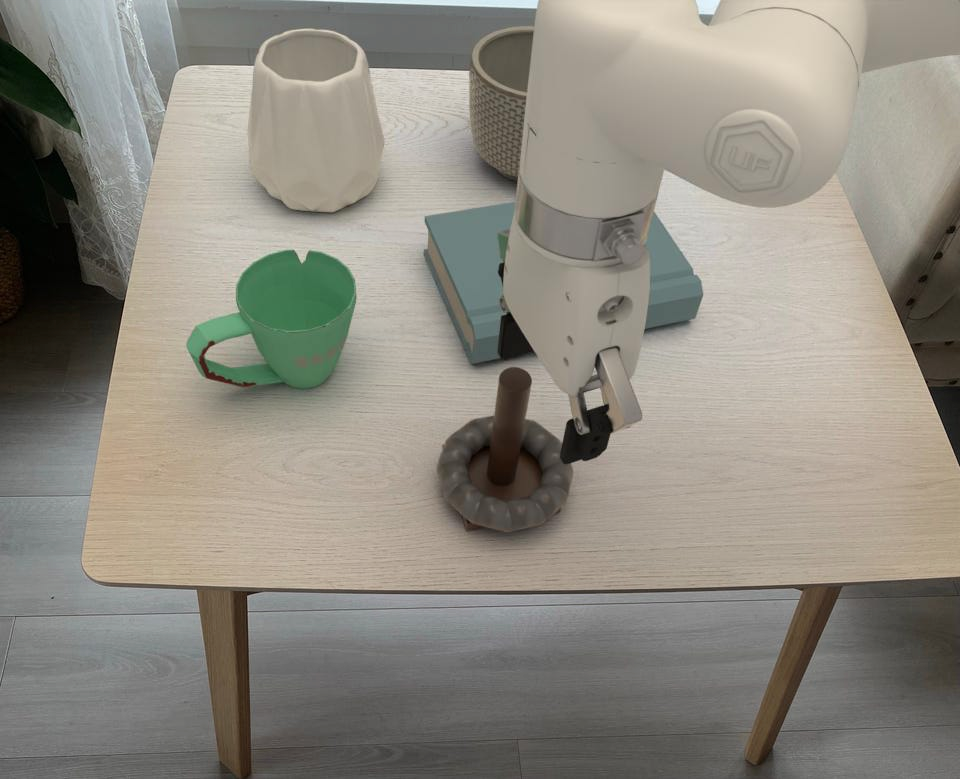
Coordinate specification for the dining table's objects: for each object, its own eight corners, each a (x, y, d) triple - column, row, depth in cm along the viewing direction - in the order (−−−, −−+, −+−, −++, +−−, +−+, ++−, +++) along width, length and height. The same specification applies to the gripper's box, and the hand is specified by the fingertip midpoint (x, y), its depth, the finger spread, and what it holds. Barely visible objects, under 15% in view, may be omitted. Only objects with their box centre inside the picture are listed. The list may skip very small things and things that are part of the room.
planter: (606, 189, 105) (628, 86, 95) (491, 214, 101) (502, 109, 91) (553, 119, 113) (568, 17, 103) (444, 139, 109) (449, 35, 99)
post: (531, 436, 82) (550, 331, 72) (560, 512, 78) (585, 411, 67) (441, 452, 81) (448, 347, 70) (466, 531, 76) (477, 431, 66)
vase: (378, 229, 98) (377, 101, 87) (241, 219, 98) (221, 90, 86) (390, 147, 107) (390, 22, 96) (264, 138, 107) (249, 11, 95)
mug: (325, 314, 90) (319, 234, 82) (380, 381, 85) (379, 302, 78) (179, 376, 84) (158, 296, 76) (229, 452, 79) (211, 374, 71)
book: (625, 220, 102) (634, 182, 98) (692, 324, 93) (705, 287, 89) (423, 254, 96) (424, 216, 93) (472, 370, 87) (476, 332, 83)
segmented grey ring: (545, 417, 82) (548, 399, 80) (587, 521, 76) (592, 504, 74) (424, 439, 80) (424, 421, 78) (457, 548, 73) (458, 532, 72)
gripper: (729, 288, 48) (661, 482, 61) (572, 103, 58) (542, 304, 71) (599, 326, 46) (557, 519, 59) (459, 127, 56) (449, 329, 69)
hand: (549, 401), depth 65 cm, fingers open, 9 cm apart
